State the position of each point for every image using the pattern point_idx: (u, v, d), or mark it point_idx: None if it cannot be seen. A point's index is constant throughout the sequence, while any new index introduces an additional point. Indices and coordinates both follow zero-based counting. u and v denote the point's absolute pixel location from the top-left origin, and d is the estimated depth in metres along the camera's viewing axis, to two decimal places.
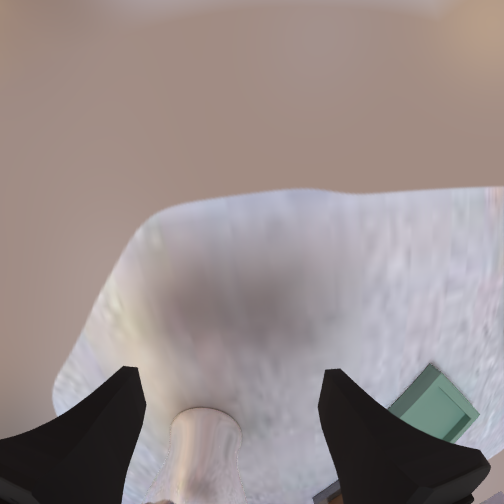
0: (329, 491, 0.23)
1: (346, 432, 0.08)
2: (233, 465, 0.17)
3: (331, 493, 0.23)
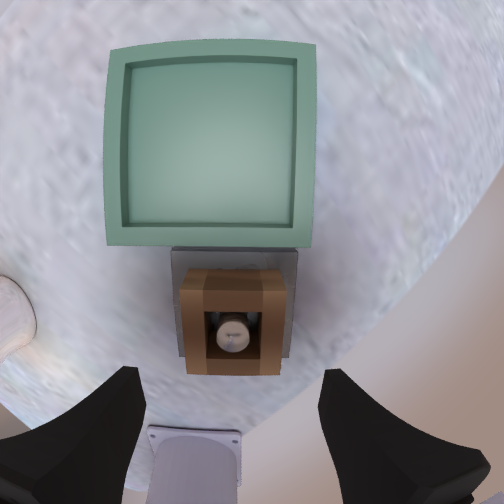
0: None
1: (347, 432, 0.08)
2: None
3: (176, 324, 0.18)
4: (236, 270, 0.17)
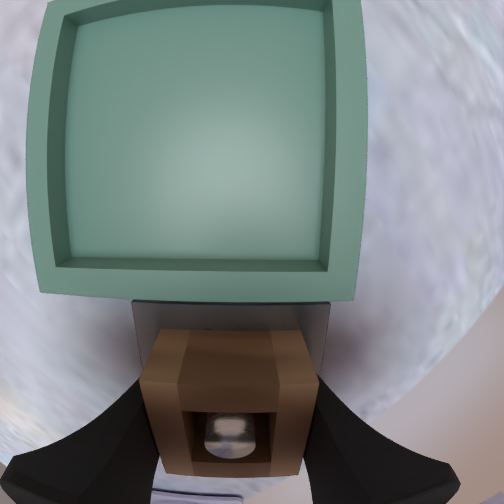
0: None
1: (315, 436, 0.08)
2: None
3: None
4: (234, 332, 0.11)
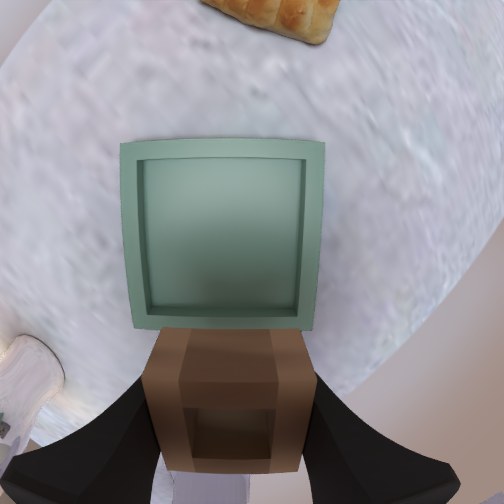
0: None
1: (315, 437, 0.08)
2: (2, 373, 0.15)
3: None
4: (235, 330, 0.11)
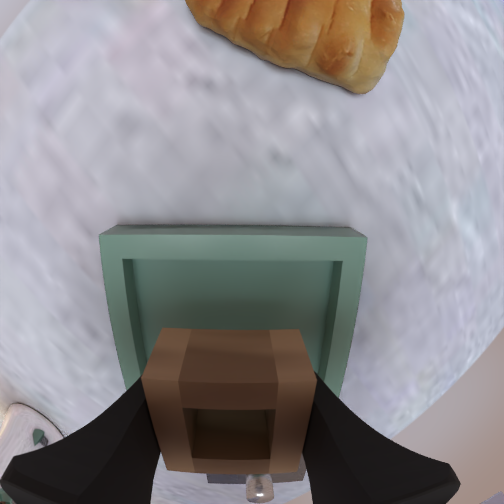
0: None
1: (315, 436, 0.08)
2: (4, 453, 0.12)
3: None
4: (234, 331, 0.11)
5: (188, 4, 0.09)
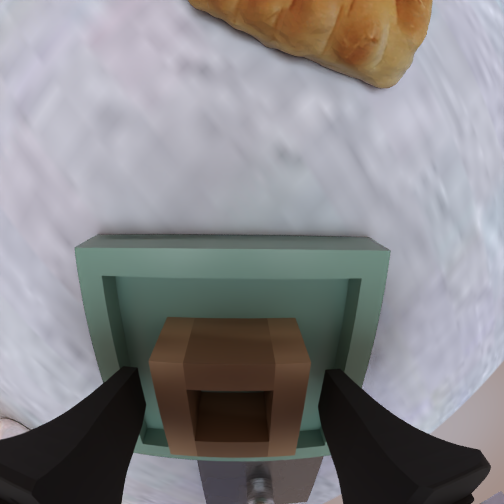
0: None
1: (347, 432, 0.08)
2: None
3: None
4: (235, 320, 0.12)
5: None
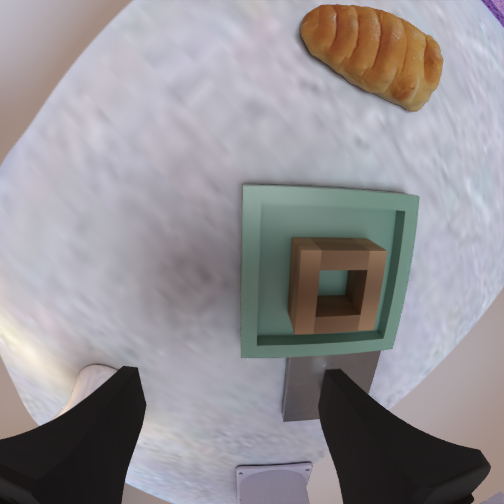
0: (284, 399, 0.22)
1: (347, 432, 0.08)
2: None
3: (285, 401, 0.22)
4: (333, 238, 0.19)
5: (304, 38, 0.15)
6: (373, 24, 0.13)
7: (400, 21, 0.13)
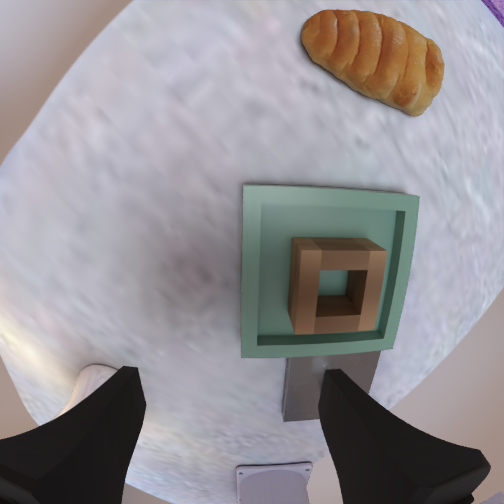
0: (284, 399, 0.22)
1: (347, 432, 0.08)
2: None
3: (285, 401, 0.22)
4: (333, 238, 0.19)
5: (306, 44, 0.15)
6: (375, 30, 0.13)
7: (401, 25, 0.13)
